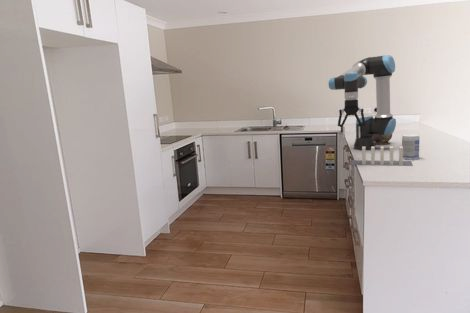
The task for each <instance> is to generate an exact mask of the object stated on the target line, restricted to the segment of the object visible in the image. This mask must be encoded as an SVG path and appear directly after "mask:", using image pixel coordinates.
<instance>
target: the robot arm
mask: <svg viewBox="0 0 470 313" xmlns="http://www.w3.org/2000/svg"><path fill="white" fill-rule="evenodd" d="M394 72H396V63H395V59H394V57H393V56H392V55H378V56H377V55H376V56H371V57H370V56H368V57H366V58H362V59H361V60H359V61H357V62H355V63H354V64H353V65H352V67H351V68H349V69H348V70H346V71H345V72H343V73H342V74H340V75H339V76H336V77H331V78H329V80H328V84H327V85H328V88H329V89H330V90H331V91H332V90H333V91H335V90H336V91H337V90H338V91H339V90H344V99H345V100H344V109H343V108H342V109H339V110H338V111H339V116H338V121H337V127H340V133H342V138H343V139H345V138H346V137H345V134H346V133H345V132H346V131H345V126H344V125H345V123H346V121H347V118H348V117H349V116H354V117H355V119H356V120H355V134H356V135H355V141H354V143H353V149H354V150H360V151H362V147H366V151H369V150H370V151H371V147H372V146H375V147H376V143H375V141H374V139H373V134H376V135H391V134H392V135H393V133H394V131H395V129H396V126H397V125H396V124H397V120H396V118H395V117H394V116H393V114H392V113H391V90H390V87H391V82H390V81H391V80H390V78H391V77H392V76H393V73H394ZM368 75H370V76H371V75H372V76H373V78H374V79H375V93H376V108H377V112H376V114H375V115H374V116H373V115H371V116H365V115H364V114H365V113H364V108H360V107H359V89H363V88H365V87H366V86H367V84H368V80H367V77H366V76H368ZM358 111H359V112H360V115H361V117H359V115H358ZM343 113H345V115H344V118H343V121H342V116H343ZM341 122H342V123H341Z"/></svg>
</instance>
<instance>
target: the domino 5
mask: <svg viewBox="0 0 470 313" xmlns="http://www.w3.org/2000/svg"><path fill="white" fill-rule="evenodd" d="M398 148H399V149H398V161H399V165H403V161H404V159H403V146H402V145H401V146H398Z"/></svg>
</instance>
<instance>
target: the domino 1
mask: <svg viewBox="0 0 470 313" xmlns="http://www.w3.org/2000/svg"><path fill="white" fill-rule="evenodd" d="M366 152H367V150H366V147H362V150H361V160H362V165H361V166H366V165H365V164H366V160H367V159H366V158H367V157H366V155H367V154H366Z"/></svg>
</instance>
